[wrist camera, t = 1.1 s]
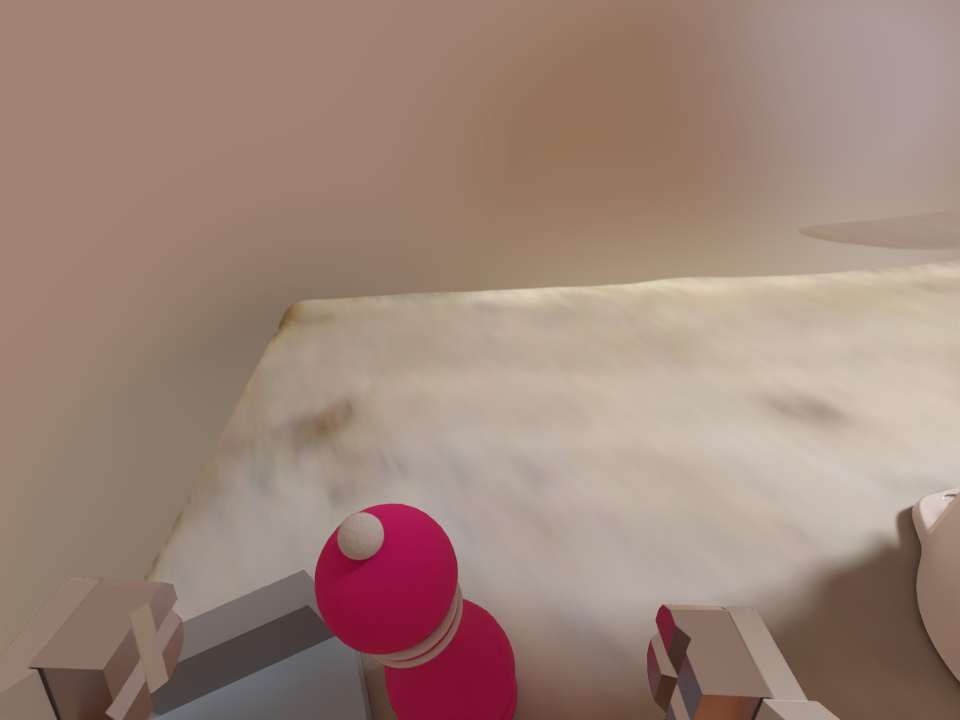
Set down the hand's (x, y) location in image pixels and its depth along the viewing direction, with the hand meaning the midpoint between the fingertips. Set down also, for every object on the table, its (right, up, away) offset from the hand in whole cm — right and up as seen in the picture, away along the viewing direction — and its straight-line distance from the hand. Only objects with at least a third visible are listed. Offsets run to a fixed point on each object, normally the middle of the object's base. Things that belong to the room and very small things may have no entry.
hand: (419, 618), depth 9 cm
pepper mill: (0, -16, +25) cm, 30 cm away
